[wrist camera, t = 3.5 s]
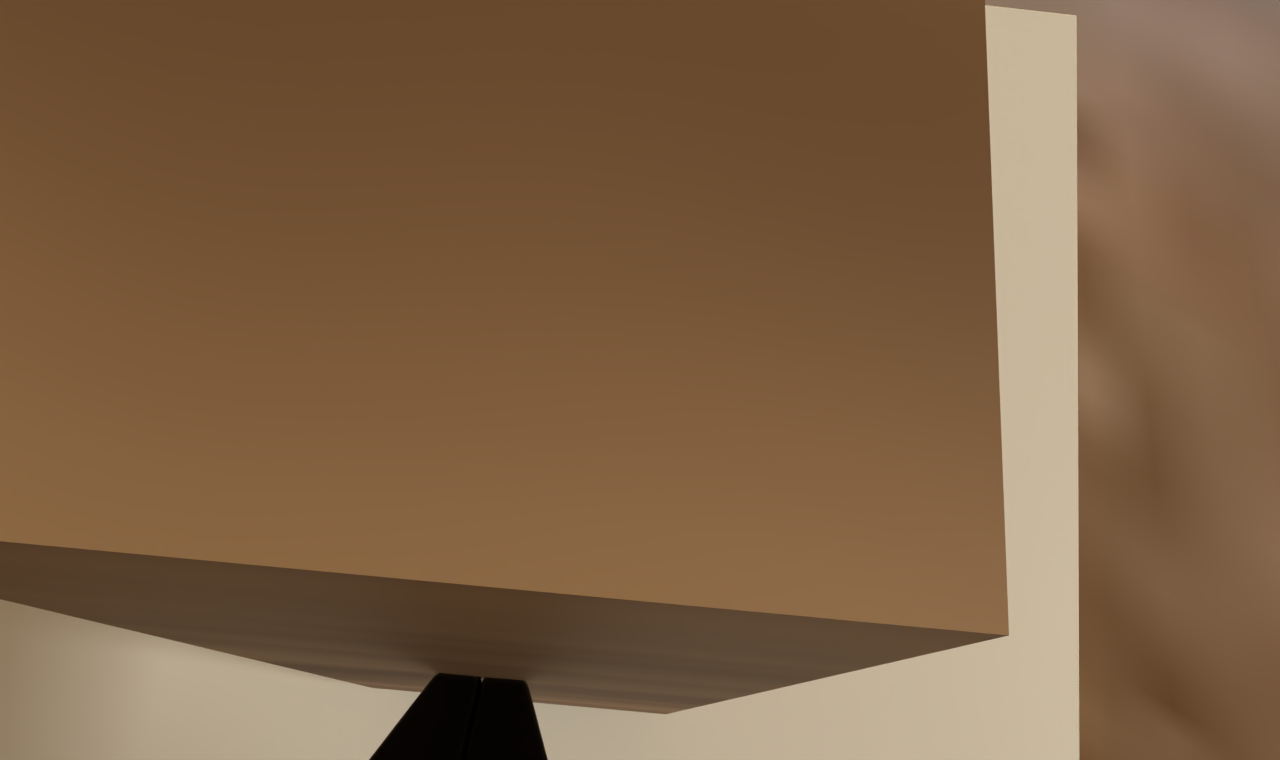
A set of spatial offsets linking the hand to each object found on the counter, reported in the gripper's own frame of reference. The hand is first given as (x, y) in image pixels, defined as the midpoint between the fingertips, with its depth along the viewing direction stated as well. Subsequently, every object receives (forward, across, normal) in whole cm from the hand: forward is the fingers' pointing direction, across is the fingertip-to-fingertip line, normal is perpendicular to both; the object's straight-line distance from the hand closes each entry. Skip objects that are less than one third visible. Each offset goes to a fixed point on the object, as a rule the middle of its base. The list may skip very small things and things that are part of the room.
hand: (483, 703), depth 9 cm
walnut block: (+6, 0, +4) cm, 7 cm away
